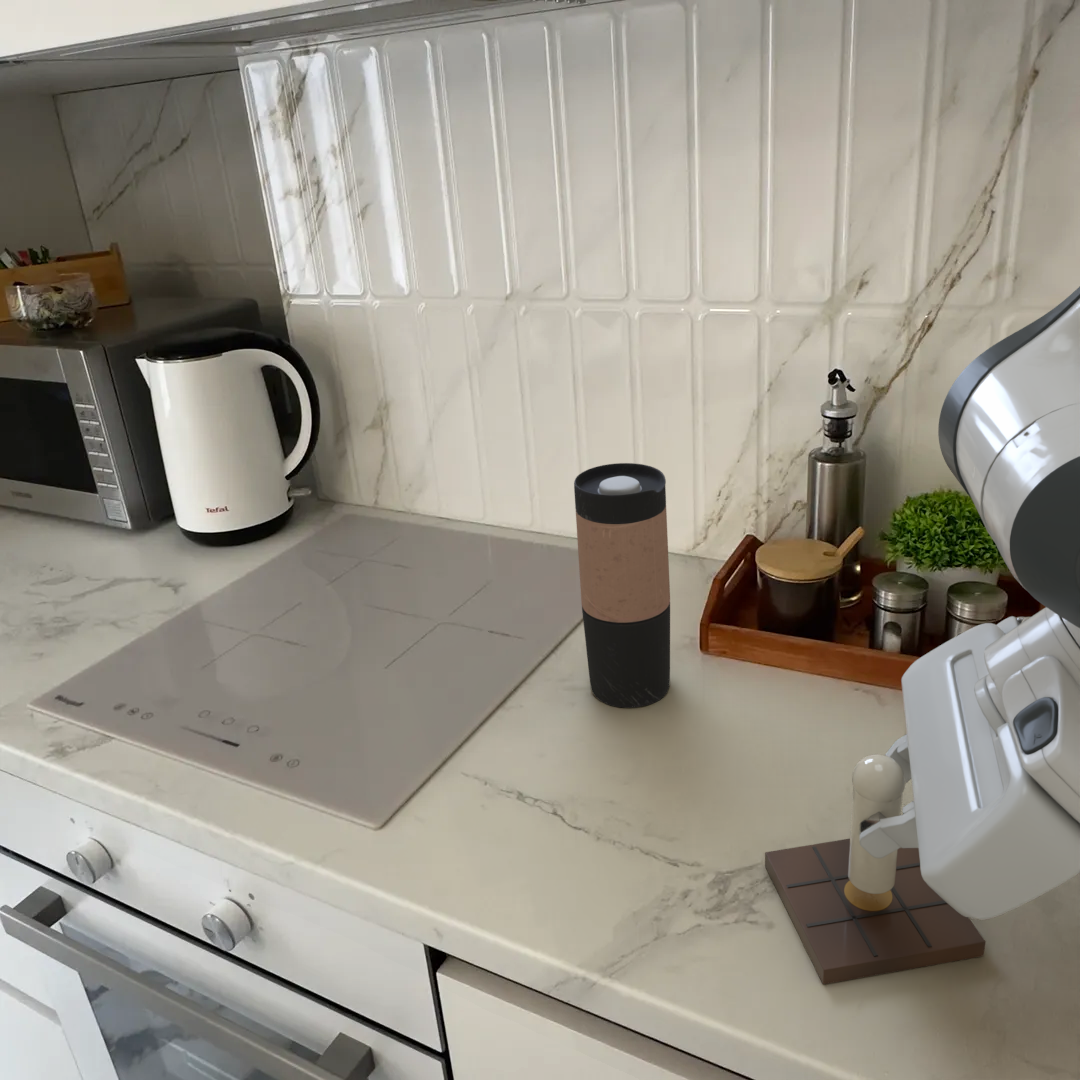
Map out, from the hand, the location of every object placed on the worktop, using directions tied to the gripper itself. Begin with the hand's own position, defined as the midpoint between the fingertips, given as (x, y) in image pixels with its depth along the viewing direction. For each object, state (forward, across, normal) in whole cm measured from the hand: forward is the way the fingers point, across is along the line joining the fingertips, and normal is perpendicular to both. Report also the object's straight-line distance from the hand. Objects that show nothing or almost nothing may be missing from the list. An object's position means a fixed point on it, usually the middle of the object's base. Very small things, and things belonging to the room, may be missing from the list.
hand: (865, 819), depth 59 cm
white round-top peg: (+3, 0, +4) cm, 5 cm away
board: (+5, 0, +6) cm, 7 cm away
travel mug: (+19, -23, -8) cm, 31 cm away
